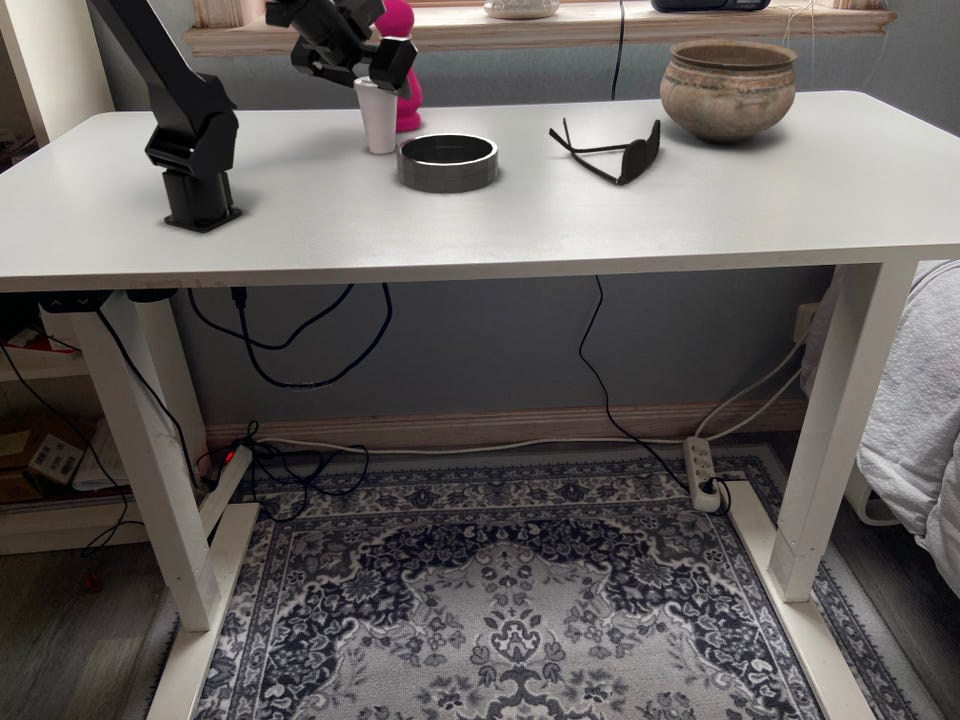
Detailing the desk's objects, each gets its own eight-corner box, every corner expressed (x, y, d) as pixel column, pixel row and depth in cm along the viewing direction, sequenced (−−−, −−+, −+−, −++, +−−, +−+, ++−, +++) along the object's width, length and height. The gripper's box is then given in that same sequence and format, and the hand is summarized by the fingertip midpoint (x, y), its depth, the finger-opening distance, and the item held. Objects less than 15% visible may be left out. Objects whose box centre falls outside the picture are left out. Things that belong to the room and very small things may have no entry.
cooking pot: (818, 161, 104) (841, 69, 97) (685, 167, 102) (699, 73, 95) (745, 112, 124) (760, 33, 118) (634, 116, 123) (642, 36, 116)
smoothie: (400, 157, 106) (393, 52, 99) (355, 156, 107) (345, 52, 99) (407, 143, 112) (400, 43, 104) (364, 142, 112) (355, 42, 105)
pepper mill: (432, 124, 120) (427, -15, 109) (405, 135, 115) (396, -9, 104) (396, 117, 123) (387, -18, 112) (368, 128, 118) (356, -12, 107)
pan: (466, 199, 93) (466, 171, 91) (378, 182, 98) (376, 155, 96) (513, 167, 102) (514, 141, 100) (431, 153, 108) (430, 128, 106)
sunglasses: (574, 137, 114) (576, 103, 111) (667, 150, 108) (672, 115, 105) (528, 171, 101) (529, 134, 99) (631, 188, 96) (635, 149, 93)
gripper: (403, -32, 89) (460, 50, 102) (293, -41, 98) (360, 36, 111) (364, 50, 88) (427, 122, 101) (257, 33, 97) (328, 102, 110)
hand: (384, 93), depth 106 cm, fingers open, 9 cm apart
